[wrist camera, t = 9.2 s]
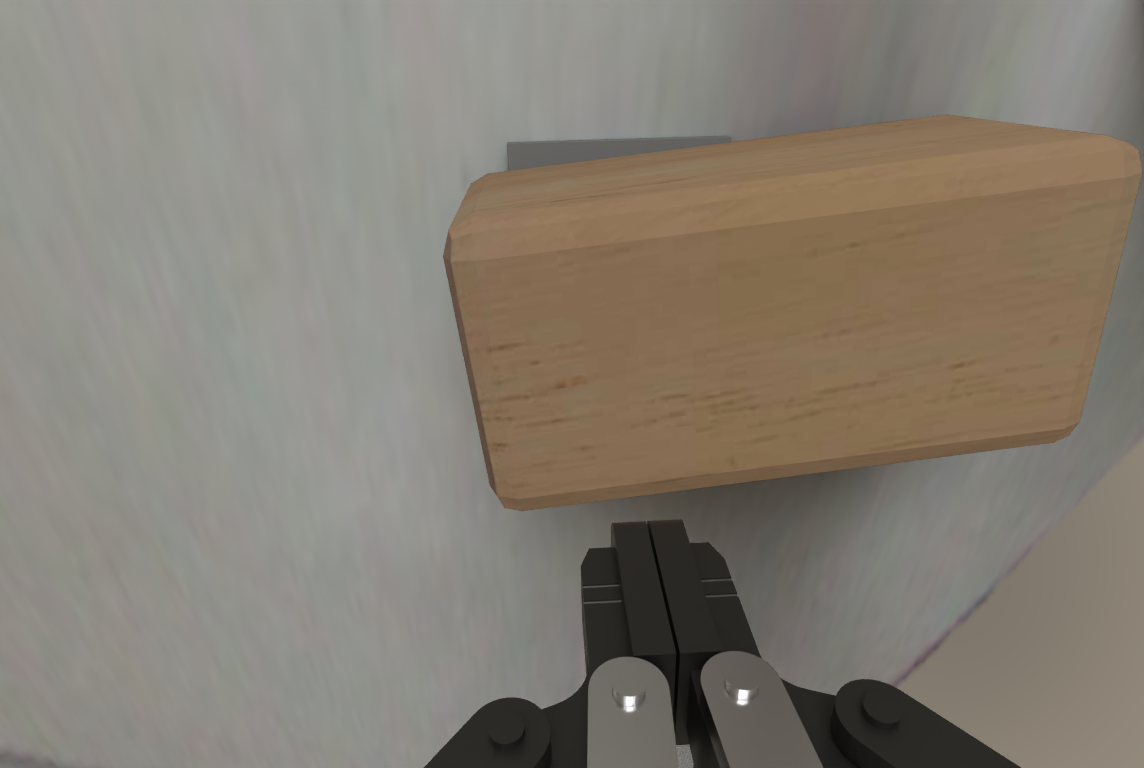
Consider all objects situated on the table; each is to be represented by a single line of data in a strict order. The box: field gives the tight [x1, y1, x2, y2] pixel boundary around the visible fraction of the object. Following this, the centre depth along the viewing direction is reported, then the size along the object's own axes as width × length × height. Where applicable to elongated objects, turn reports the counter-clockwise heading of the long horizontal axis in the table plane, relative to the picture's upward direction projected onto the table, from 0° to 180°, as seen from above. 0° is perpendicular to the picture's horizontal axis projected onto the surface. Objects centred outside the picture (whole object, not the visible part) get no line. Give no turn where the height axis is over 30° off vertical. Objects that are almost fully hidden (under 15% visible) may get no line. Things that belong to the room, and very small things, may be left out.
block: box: [443, 115, 1142, 511], centre depth 25 cm, size 10×10×20 cm
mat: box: [507, 136, 731, 171], centre depth 30 cm, size 9×13×1 cm
